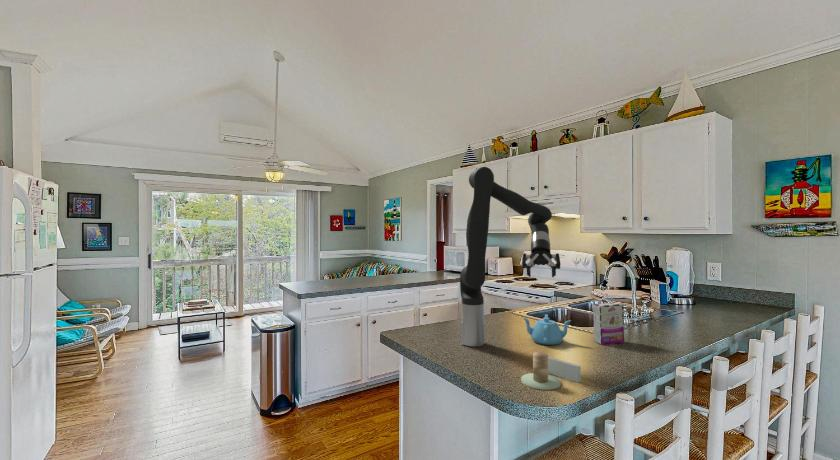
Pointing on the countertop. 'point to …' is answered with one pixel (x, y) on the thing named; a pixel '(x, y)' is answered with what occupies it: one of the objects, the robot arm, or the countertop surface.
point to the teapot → (546, 331)
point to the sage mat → (550, 385)
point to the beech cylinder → (540, 367)
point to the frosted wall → (564, 369)
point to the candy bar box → (608, 323)
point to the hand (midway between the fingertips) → (541, 275)
